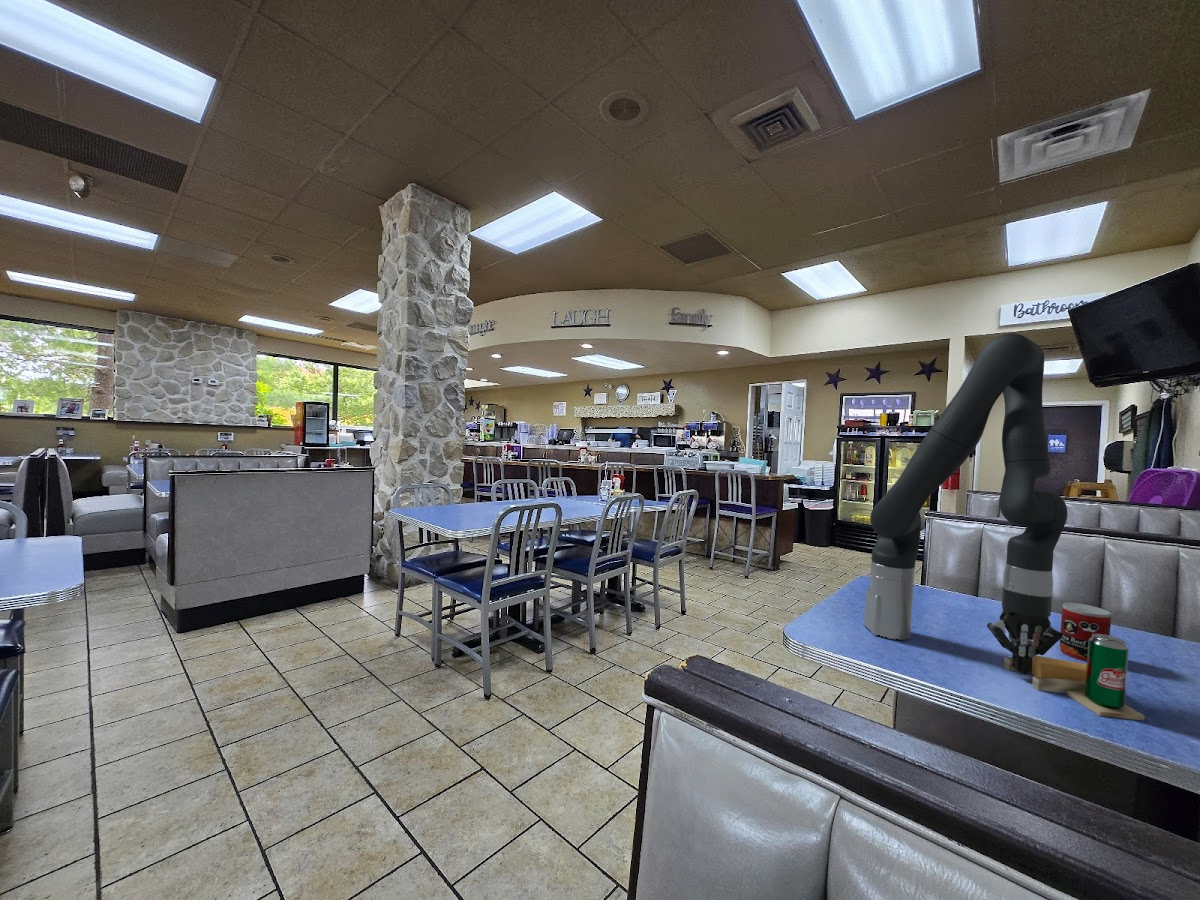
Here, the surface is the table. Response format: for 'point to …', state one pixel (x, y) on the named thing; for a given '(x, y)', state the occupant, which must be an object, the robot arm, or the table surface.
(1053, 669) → the long wooden beam
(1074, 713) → the table surface
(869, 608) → the robot arm
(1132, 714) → the coaster
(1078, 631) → the canned food
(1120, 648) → the soda can
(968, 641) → the table surface
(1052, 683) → the rails
